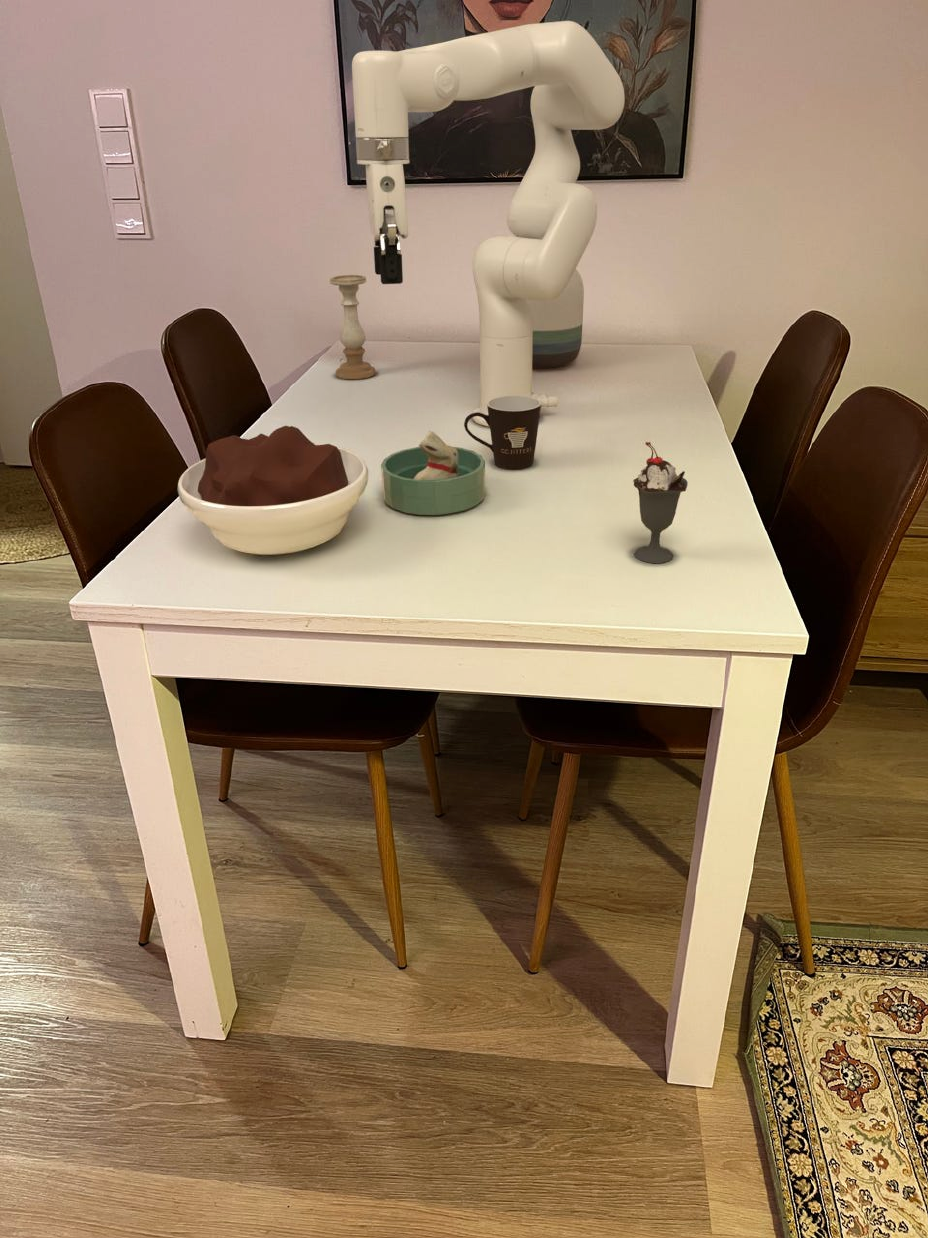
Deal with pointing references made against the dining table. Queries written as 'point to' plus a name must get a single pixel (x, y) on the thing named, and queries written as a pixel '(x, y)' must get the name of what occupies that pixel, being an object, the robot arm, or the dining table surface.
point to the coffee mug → (511, 430)
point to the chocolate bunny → (438, 459)
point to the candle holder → (352, 330)
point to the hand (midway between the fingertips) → (388, 278)
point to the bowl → (432, 483)
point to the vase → (558, 326)
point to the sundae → (658, 504)
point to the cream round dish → (273, 491)
